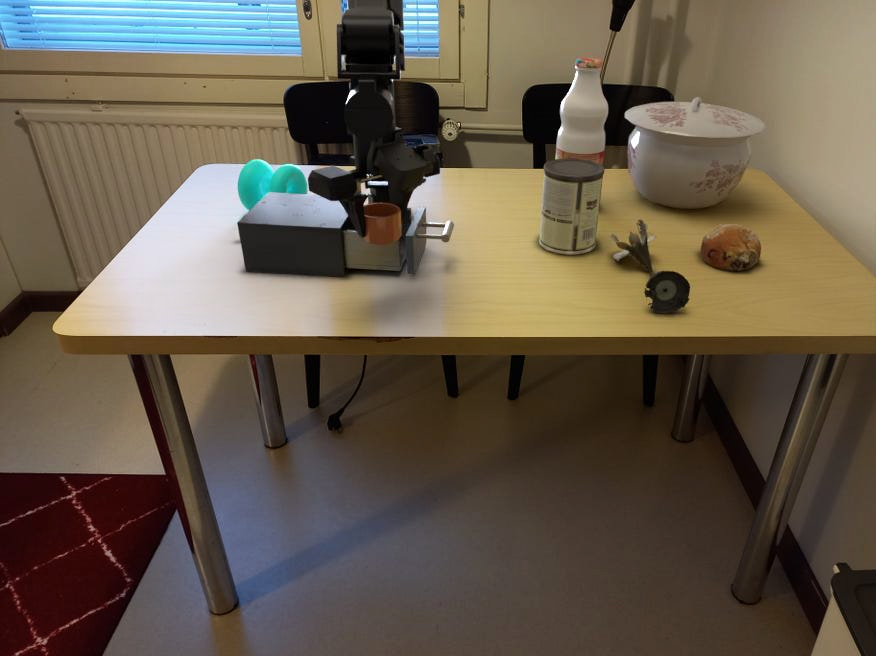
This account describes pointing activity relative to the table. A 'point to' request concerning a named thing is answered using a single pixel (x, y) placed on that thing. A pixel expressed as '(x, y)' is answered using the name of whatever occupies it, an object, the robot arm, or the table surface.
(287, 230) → the black drawer cabinet
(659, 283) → the artificial flower
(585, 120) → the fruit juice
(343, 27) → the robot arm
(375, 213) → the flower pot
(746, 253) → the bread roll
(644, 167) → the chamber pot
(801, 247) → the table surface
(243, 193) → the donuts
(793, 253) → the table surface
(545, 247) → the coffee can
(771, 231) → the table surface
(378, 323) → the table surface
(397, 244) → the drawer
